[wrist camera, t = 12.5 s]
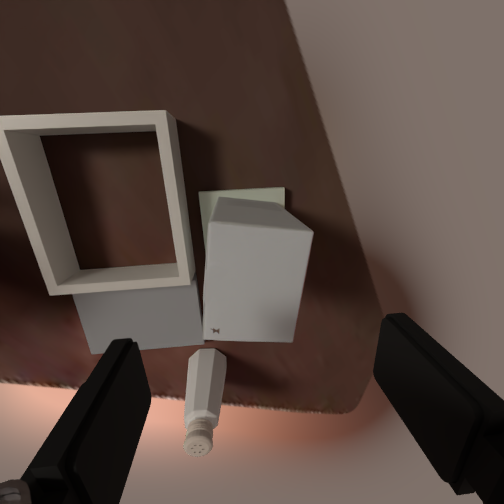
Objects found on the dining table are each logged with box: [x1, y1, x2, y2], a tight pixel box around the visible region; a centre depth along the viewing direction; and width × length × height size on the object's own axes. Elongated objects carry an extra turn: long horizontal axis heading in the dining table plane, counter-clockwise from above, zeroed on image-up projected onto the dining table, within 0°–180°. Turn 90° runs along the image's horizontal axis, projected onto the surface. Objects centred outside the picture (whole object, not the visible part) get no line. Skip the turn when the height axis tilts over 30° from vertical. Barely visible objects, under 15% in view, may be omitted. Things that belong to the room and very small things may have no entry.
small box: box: [202, 197, 314, 342], centre depth 21 cm, size 8×6×13 cm
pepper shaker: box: [183, 348, 227, 457], centre depth 29 cm, size 5×5×11 cm
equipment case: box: [0, 110, 205, 354], centre depth 26 cm, size 26×14×4 cm, turn 3°
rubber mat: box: [199, 187, 285, 253], centre depth 28 cm, size 10×9×1 cm
